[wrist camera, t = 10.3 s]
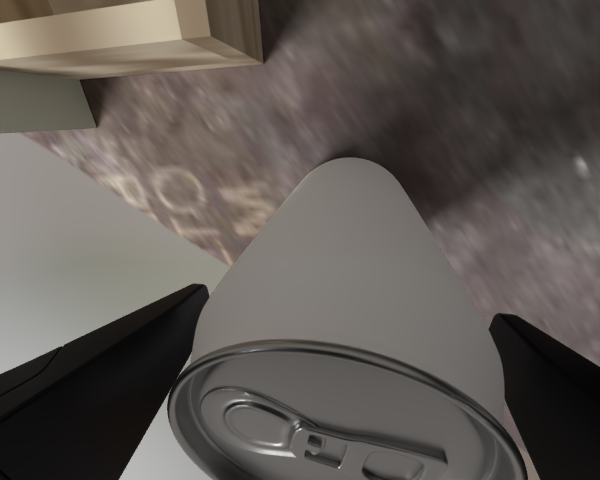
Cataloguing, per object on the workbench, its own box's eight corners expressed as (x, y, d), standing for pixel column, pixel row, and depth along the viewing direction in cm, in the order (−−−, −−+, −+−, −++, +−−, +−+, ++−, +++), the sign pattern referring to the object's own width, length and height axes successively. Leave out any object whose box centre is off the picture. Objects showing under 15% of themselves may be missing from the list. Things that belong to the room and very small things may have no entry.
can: (298, 147, 13) (95, 268, 3) (423, 164, 13) (743, 415, 2) (288, 250, 17) (170, 489, 6) (388, 269, 16) (453, 586, 5)
